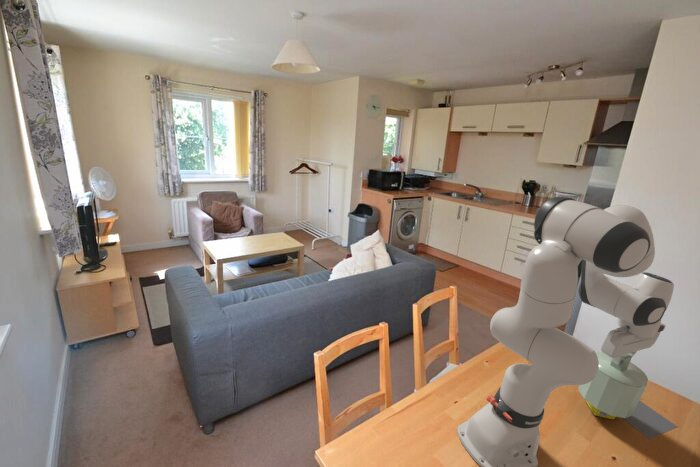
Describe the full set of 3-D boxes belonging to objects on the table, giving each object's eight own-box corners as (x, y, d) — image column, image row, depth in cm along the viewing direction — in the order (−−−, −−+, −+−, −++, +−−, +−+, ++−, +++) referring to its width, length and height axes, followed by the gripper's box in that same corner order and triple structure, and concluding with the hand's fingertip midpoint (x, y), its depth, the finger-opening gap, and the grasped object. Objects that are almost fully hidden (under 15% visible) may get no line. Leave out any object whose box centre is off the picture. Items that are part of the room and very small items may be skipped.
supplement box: (614, 421, 103) (626, 395, 99) (593, 417, 104) (604, 391, 100) (604, 407, 108) (615, 381, 105) (584, 402, 109) (595, 377, 106)
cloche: (614, 422, 96) (635, 375, 90) (569, 387, 108) (585, 343, 102) (642, 411, 101) (664, 365, 95) (596, 378, 113) (613, 336, 107)
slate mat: (649, 440, 97) (650, 439, 97) (598, 401, 110) (599, 400, 110) (677, 427, 103) (677, 426, 102) (625, 392, 116) (626, 391, 116)
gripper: (627, 335, 89) (610, 375, 93) (669, 325, 96) (651, 362, 100) (603, 322, 94) (588, 360, 99) (645, 313, 101) (629, 349, 106)
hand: (620, 361), depth 100 cm, fingers closed on cloche, 3 cm apart
